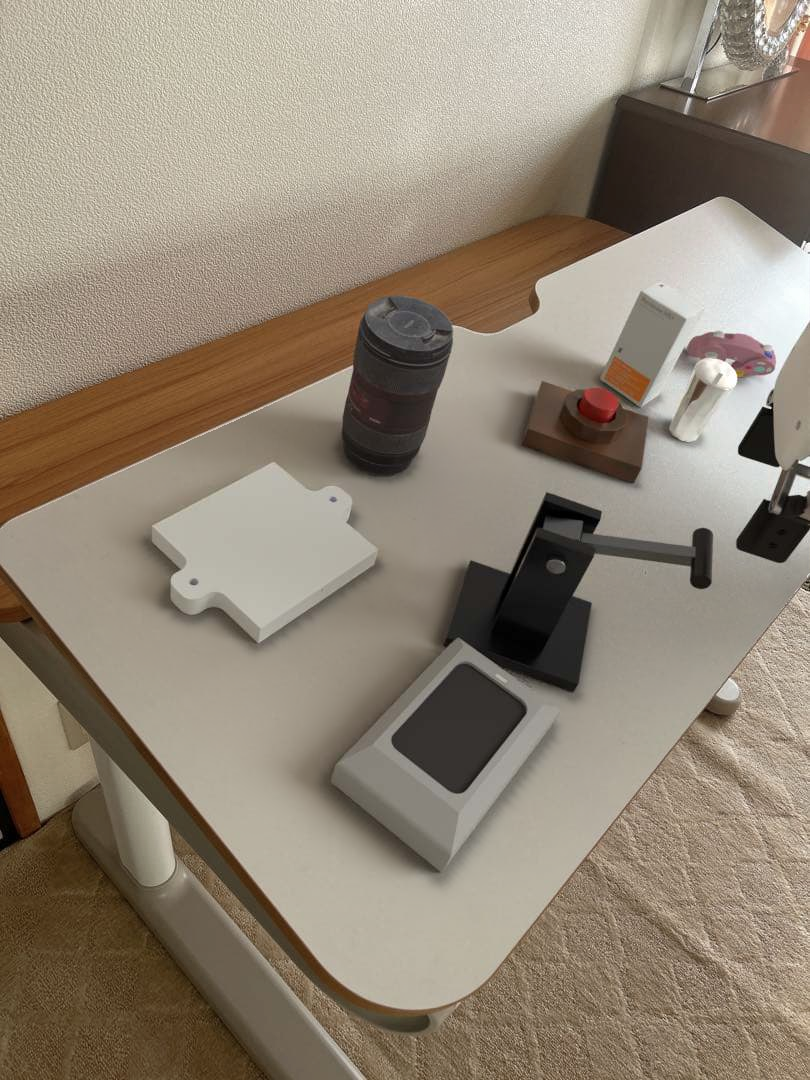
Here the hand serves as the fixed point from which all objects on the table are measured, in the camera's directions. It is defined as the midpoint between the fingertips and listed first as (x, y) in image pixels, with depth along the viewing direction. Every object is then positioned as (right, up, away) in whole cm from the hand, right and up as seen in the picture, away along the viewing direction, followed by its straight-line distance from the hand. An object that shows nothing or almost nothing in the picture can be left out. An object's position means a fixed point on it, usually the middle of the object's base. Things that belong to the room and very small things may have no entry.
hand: (758, 503), depth 59 cm
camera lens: (-26, +6, +26) cm, 37 cm away
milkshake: (+7, +9, +38) cm, 40 cm away
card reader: (-21, -18, +5) cm, 28 cm away
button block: (-5, +8, +34) cm, 35 cm away
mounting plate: (-35, -4, +14) cm, 38 cm away
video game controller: (+15, +18, +49) cm, 54 cm away
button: (-4, +11, +31) cm, 33 cm away
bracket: (-14, -10, +14) cm, 22 cm away
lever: (-7, -4, +6) cm, 10 cm away
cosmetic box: (+2, +15, +42) cm, 45 cm away
